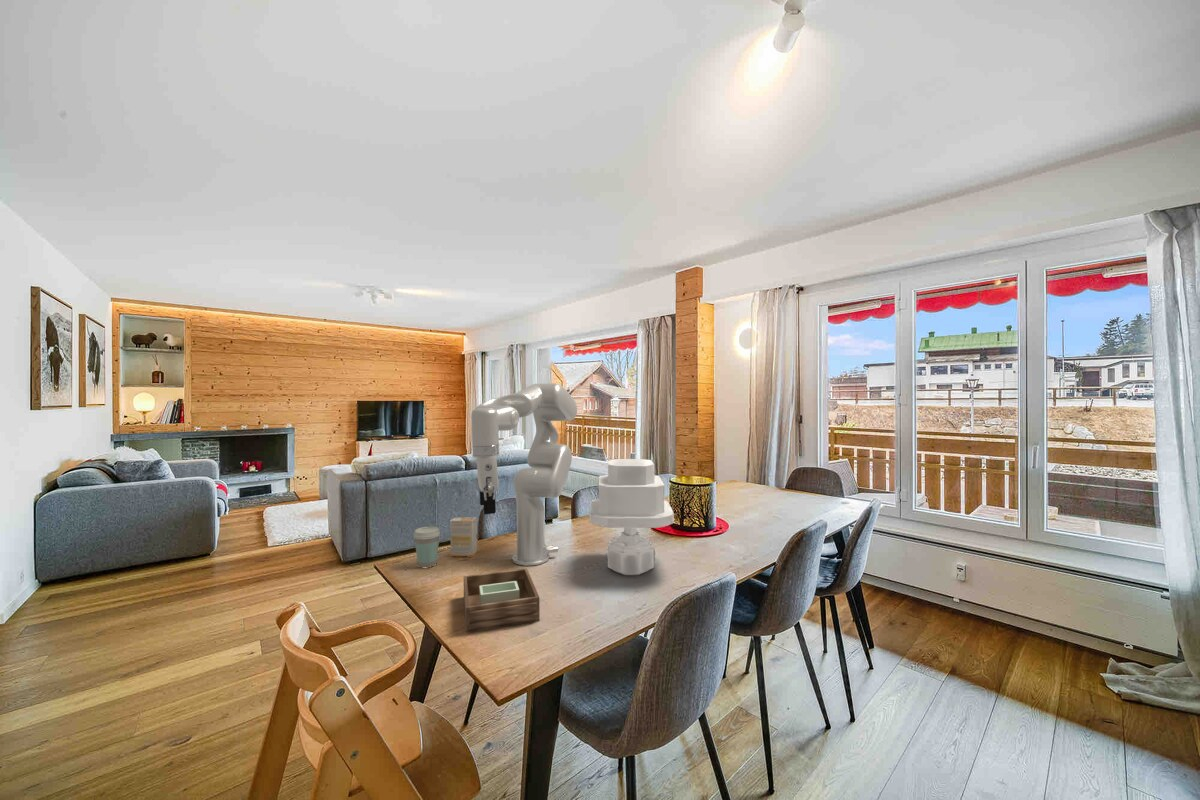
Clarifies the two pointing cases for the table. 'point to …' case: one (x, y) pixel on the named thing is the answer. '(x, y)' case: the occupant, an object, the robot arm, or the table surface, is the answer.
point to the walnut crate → (500, 611)
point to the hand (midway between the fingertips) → (487, 508)
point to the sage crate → (498, 592)
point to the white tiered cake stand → (631, 512)
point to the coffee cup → (427, 545)
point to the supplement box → (463, 536)
